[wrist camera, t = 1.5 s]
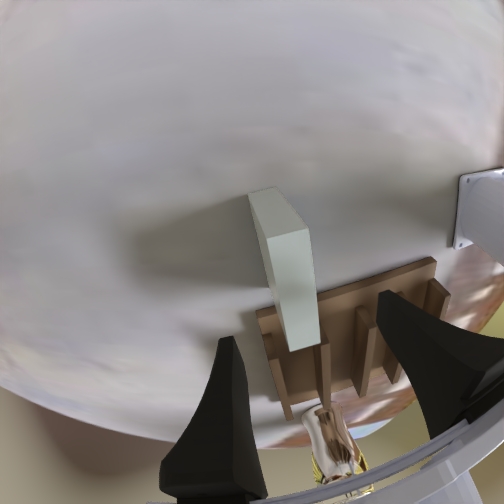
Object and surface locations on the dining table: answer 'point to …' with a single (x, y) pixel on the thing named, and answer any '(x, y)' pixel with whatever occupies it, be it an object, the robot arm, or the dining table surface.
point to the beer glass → (334, 450)
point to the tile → (287, 266)
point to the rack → (347, 336)
